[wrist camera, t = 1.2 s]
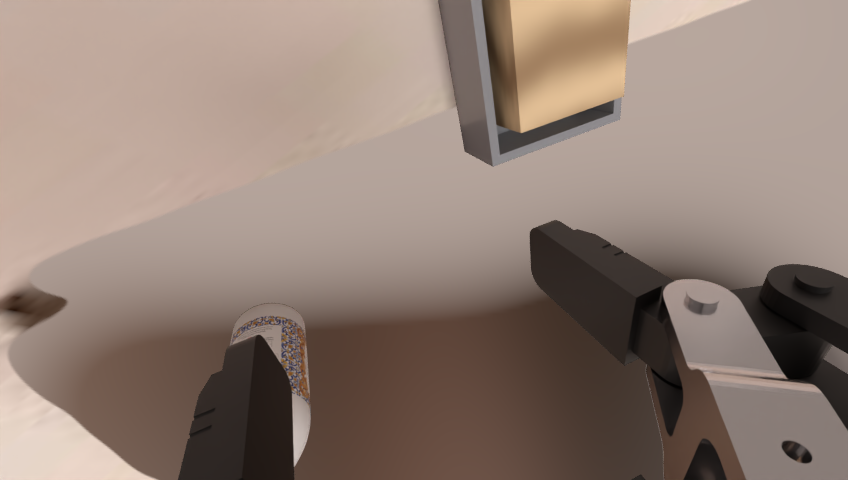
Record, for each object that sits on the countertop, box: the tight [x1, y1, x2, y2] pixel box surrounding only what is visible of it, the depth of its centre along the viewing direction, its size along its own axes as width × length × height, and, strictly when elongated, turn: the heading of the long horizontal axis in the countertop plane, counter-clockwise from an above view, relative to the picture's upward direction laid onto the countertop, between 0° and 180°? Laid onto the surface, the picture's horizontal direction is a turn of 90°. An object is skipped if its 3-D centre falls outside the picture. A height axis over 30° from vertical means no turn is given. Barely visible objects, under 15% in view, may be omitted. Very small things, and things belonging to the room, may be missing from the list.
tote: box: [438, 0, 622, 166], centre depth 30 cm, size 16×14×6 cm
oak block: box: [481, 0, 631, 133], centre depth 29 cm, size 10×10×7 cm
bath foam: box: [230, 303, 311, 466], centre depth 29 cm, size 7×7×20 cm
